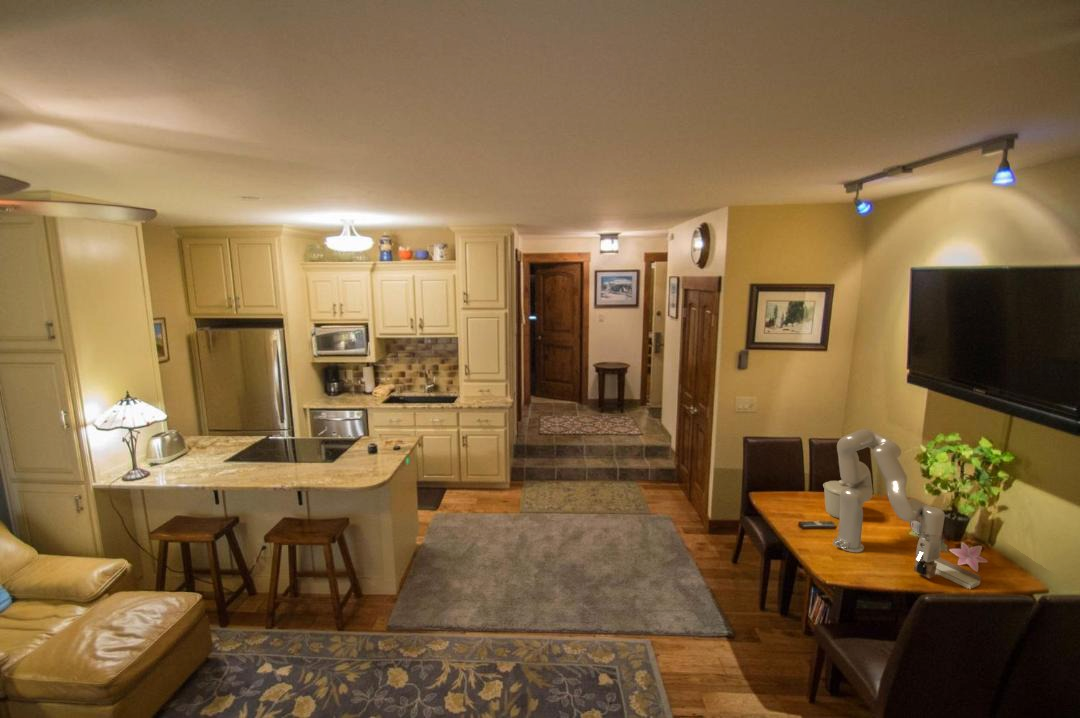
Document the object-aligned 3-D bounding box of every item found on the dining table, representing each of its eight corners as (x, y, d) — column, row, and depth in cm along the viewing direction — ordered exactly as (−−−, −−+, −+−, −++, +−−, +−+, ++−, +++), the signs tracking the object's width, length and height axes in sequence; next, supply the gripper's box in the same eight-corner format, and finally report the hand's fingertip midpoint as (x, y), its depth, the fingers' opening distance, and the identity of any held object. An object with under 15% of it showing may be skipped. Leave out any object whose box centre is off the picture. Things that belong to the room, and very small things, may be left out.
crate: (929, 578, 202) (931, 566, 201) (913, 570, 208) (915, 558, 207) (935, 575, 204) (937, 563, 203) (919, 567, 209) (921, 556, 208)
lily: (944, 558, 221) (946, 547, 216) (964, 547, 222) (967, 535, 217) (970, 579, 211) (974, 568, 206) (991, 567, 212) (995, 556, 207)
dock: (969, 589, 197) (971, 581, 197) (919, 565, 215) (920, 557, 214) (979, 584, 201) (981, 576, 200) (929, 560, 218) (930, 553, 217)
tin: (942, 545, 230) (944, 529, 229) (937, 545, 230) (939, 530, 228) (912, 529, 245) (914, 515, 243) (907, 530, 244) (909, 515, 243)
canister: (866, 518, 257) (869, 483, 253) (843, 525, 250) (847, 489, 247) (835, 504, 273) (837, 471, 270) (813, 511, 267) (816, 477, 263)
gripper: (928, 543, 196) (923, 581, 199) (951, 534, 202) (945, 571, 206) (909, 534, 202) (903, 571, 206) (931, 526, 209) (925, 562, 212)
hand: (924, 571), depth 206 cm, fingers closed on crate, 4 cm apart
